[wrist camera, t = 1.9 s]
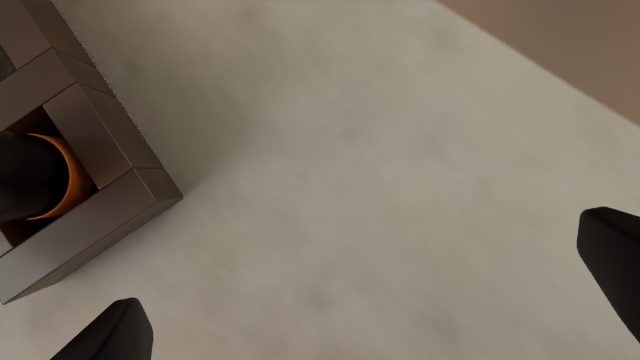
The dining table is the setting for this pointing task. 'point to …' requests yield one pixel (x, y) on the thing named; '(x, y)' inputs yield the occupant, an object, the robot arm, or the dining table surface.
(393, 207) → the dining table surface
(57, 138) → the flashlight
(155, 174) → the tool caddy
